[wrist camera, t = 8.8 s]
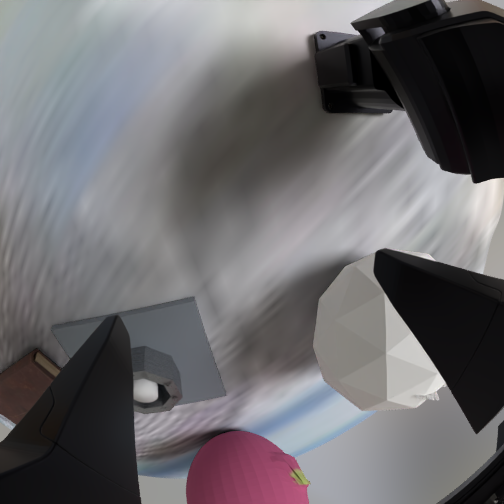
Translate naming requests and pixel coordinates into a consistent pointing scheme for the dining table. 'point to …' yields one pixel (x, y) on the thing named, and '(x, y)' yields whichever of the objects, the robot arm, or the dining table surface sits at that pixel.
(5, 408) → the notebook
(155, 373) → the ring
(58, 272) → the dining table surface
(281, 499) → the pink dragon fruit
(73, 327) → the gray square plate
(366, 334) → the geodesic sphere
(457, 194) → the dining table surface
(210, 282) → the dining table surface
